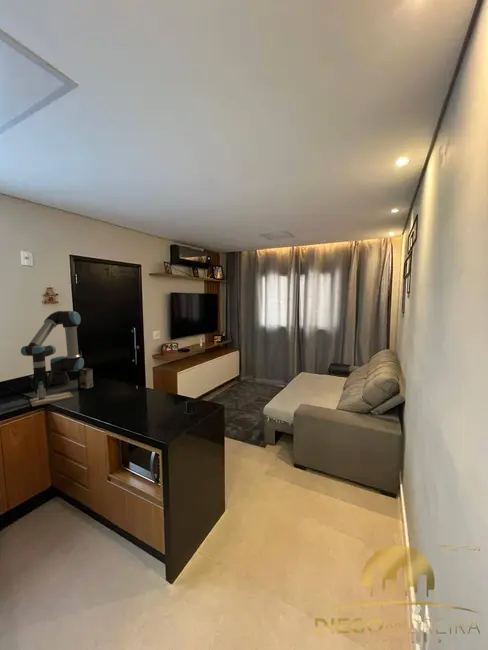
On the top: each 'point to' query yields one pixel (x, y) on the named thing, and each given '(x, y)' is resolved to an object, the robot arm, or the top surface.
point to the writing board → (51, 398)
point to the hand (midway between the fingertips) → (41, 396)
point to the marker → (41, 390)
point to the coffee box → (86, 378)
